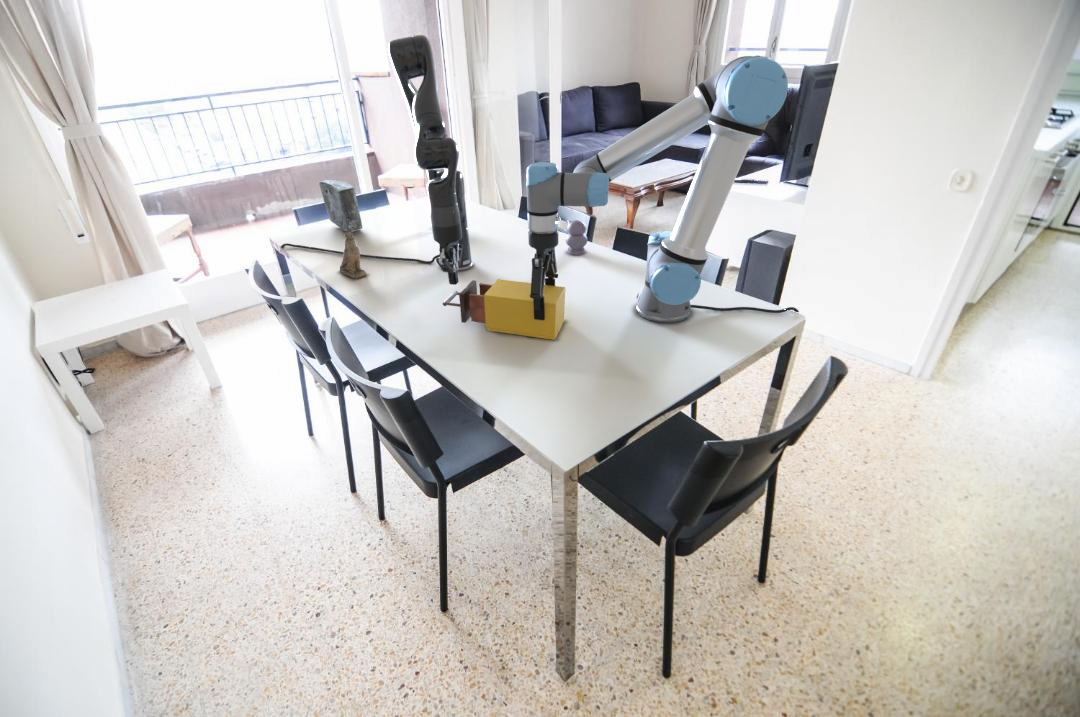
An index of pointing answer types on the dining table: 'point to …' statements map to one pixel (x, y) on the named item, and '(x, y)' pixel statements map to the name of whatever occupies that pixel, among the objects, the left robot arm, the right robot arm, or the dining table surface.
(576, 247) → the grey rounded figurine
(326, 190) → the concrete block
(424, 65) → the left robot arm
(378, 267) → the dining table surface
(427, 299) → the dining table surface
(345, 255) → the brown carved statuette
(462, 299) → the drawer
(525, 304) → the yellow box
